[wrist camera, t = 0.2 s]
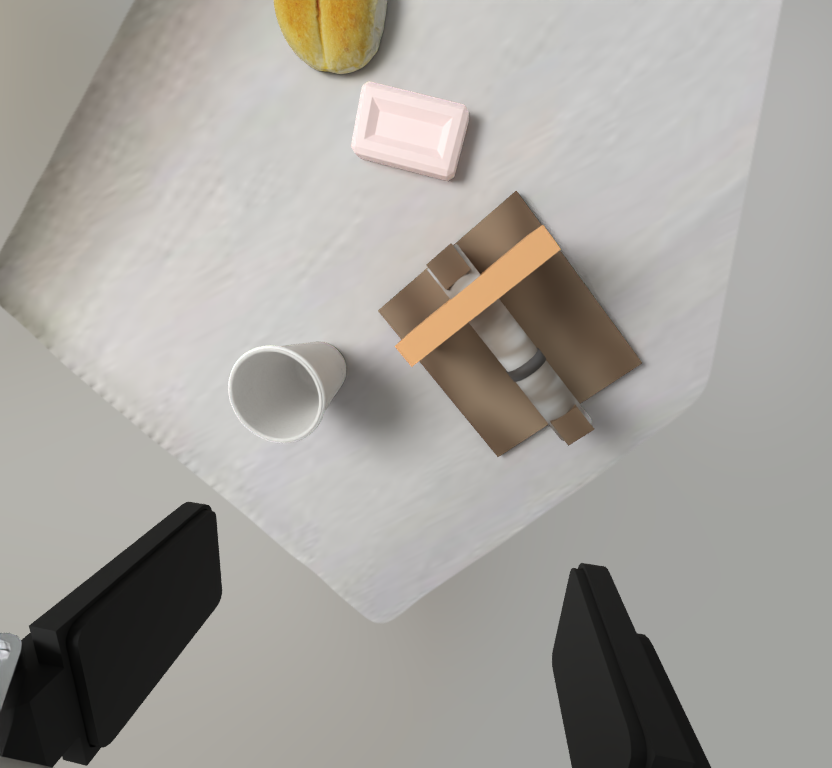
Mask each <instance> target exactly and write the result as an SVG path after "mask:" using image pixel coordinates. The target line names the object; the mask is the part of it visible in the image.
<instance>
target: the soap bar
mask: <svg viewBox="0 0 832 768" xmlns="http://www.w3.org/2000/svg"><path fill="white" fill-rule="evenodd" d="M468 123H469V112H468V110H467V108H466V106H465V105H464V104H460V103H456V102H452V101H448V100H444V99H440V98H435V97H431V96H427V95H423V94H419V93H415V92H411V91H407V90H403V89H399V88H395V87H391V86H387V85H383V84H379V83H375V82H370V81H368V82H367V83H365V84H364V85H363V86H362V89H361V95H360V100H359V106H358V111H357V116H356V122H355V127H354V133H353V138H352V143H351V147H352V149H353V150H354V152H355V154H356V155H357V156H358V157H359V158H361V159H365V160H368V161H372V162H376V163H380V164H384V165H388V166H391V167H395V168H399V169H403V170H407V171H411V172H415V173H418V174H422V175H426V176H430V177H434V178H438V179H441V180H445V181H449V180H451V179H452V178H454V176H455V173H456V169H457V165H458V161H459V157H460V153H461V150H462V146H463V142H464V138H465V134H466V130H467V127H468Z"/></svg>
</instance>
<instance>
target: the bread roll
mask: <svg viewBox="0 0 832 768" xmlns="http://www.w3.org/2000/svg"><path fill="white" fill-rule="evenodd" d="M274 7H275V12H276V16H277V20H278V23H279V26H280V28H281V31H282V33H283V35H284V37H285V39H286V41H287V42H288V44H289V46H290V47H291V48H292V50H293V51H294V52H295V54H296V55H297V56H298V57H299V58H300V59H302V60H303V61H304V62H305V63H306V64H308V65H309V66H310V67H312V68H314V69H316V70H318V71H329V72H332V73H337V74H345V73H350V72H354V71H356V70H358V69H361V68H363V67H364V66H365V65H366V64H367V63H368V62H369V61H370V60H371V59H372V57H373V56H374V55H375V54H376V52H377V50H378V47H379V44H380V40H381V36H382V33H383V29H384V22H385V16H386V9H387V0H274Z"/></svg>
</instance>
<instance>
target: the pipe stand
mask: <svg viewBox="0 0 832 768" xmlns="http://www.w3.org/2000/svg"><path fill="white" fill-rule="evenodd" d="M540 226H542V225H541V224H540V222H539V221H538V220H537V218H536V217H535V216H534V214H533V213H532V211H531V210H530V209H529V207H528V206H527V205H526V203H525V202H524V200H523V199H522V198H521V196H520V195H519V194H518V192H517V191H515V192H514V193H513V194H512V195H511V196H509V197H508V198H507V199H506V200H505V201H504V202H503V203H501V204H500V205H499V206H498V207H497V208H496V209H495V210H493V211H492V212H491V213H490V214H489V215H488V216H486V217H485V218H484V219H483V220H482V221H481V222H480V223H478V224H477V225H476V226H475V227H474V228H473V229H472V230H470V231H469V232H468V233H467V234H466V235H465V236H463V237H462V238H461V239H460V240H459V241H458V242H457V243H455V244H454V245H452V244H450V245H448V246H447V247H446V248H445V249H444V250H443V251H442V252H440V253H439V254H438V255H437V256H436V257H435V258H434V259H432V260H431V261H430V262H429V263H428V264H427V267H428V268H427V269H425V270H424V271H423V272H422V273H421V274H420V275H419V276H417V277H416V278H415V279H414V280H413V281H412V282H411V283H409V284H408V285H407V286H406V287H405V288H404V289H402V290H401V291H400V292H399V293H398V294H397V295H396V296H394V297H393V298H392V299H391V300H390V301H389V302H388V303H386V304H385V305H384V306H383V307H382V308H381V309H379V310H378V311H379V313H380V314H381V315H382V316H383V318H384V319H385V320H386V321H387V322H388V324H389V325H390V326H391V327H392V329H393V330H394V331H395V332H396V333H397V335H398V336H399V337H400V338H401V339H403V338H404V337H405V336H406V335H407V334H409V333H410V332H411V331H412V330H413V329H414V328H415V327H417V326H418V325H419V324H420V323H422V322H423V321H424V320H425V319H426V318H428V317H429V316H430V315H431V314H432V313H434V312H435V311H436V310H437V309H439V308H440V307H441V306H442V305H443V304H445V303H446V302H447V301H448V300H449V299H452V298H454V297H455V296H456V295H457V294H458V293H460V292H461V291H462V290H463V289H464V288H466V287H467V286H468V285H469V284H471V283H472V282H473V281H474V280H475V279H477V278H478V277H479V276H480V274H481V273H482V272H484V271H485V270H486V269H487V268H488V267H490V266H491V265H492V264H493V263H494V262H496V261H497V260H498V259H499V258H501V257H502V256H503V255H504V254H505V253H507V252H508V251H509V250H510V249H511V248H513V247H514V246H515V245H516V244H518V243H519V242H520V241H521V240H522V239H524V238H525V237H526V236H527V235H529V234H530V233H532V232H533V231H534V230H536V229H537V228H539V227H540ZM420 363H421V364H422V365H423V366H424V368H425V369H426V370H427V371H428V372H429V374H430V375H431V376H432V377H433V379H434V380H435V381H436V382H437V383H438V385H439V386H440V387H441V388H442V389H443V391H444V392H445V393H446V394H447V396H448V397H449V398H450V399H451V400H452V402H453V403H454V404H455V405H456V407H457V408H458V409H459V410H460V411H461V413H462V414H463V415H464V416H465V418H466V419H467V420H468V421H469V422H470V424H471V425H472V426H473V427H474V428H475V430H476V431H477V432H478V433H479V435H480V436H481V437H482V438H483V439H484V441H485V442H486V443H487V444H488V446H489V447H490V448H491V449H492V450H493V452H494V453H495V454H496V455H497V457H499V456H501V455H502V454H504V453H505V452H507V451H508V450H510V449H511V448H513V447H514V446H516V445H518V444H519V443H521V442H522V441H524V440H525V439H527V438H528V437H530V436H531V435H533V434H534V433H536V432H537V431H539V430H541V429H542V428H544V427H545V426H547V425H548V424H549V425H550V426H551V428H552V429H553V430H554V431H555V433H556V434H557V435H558V437H559V438H560V439H561V440H563V441H565V442H566V443H567V444H568V446H569V445H570V444H572V443H573V442H575V441H577V440H578V439H580V438H581V437H583V436H585V435H586V434H588V433H589V432H591V431H593V430H594V428H593V427H592V425H591V423H592V419H591V418H590V416H589V415H588V414H587V413H586V411H585V410H584V409H583V407H582V406H581V405H580V403H582V402H583V401H585V400H587V399H588V398H590V397H591V396H593V395H594V394H596V393H597V392H599V391H600V390H602V389H603V388H605V387H607V386H608V385H610V384H611V383H613V382H614V381H616V380H617V379H619V378H620V377H622V376H623V375H625V374H626V373H628V372H630V371H631V370H633V369H634V368H636V367H637V366H639V365H640V364H642V362H641V361H640V359H639V358H638V356H637V355H636V354H635V352H634V351H633V350H632V348H631V347H630V345H629V344H628V343H627V341H626V340H625V339H624V337H623V336H622V335H621V333H620V332H619V330H618V329H617V328H616V326H615V325H614V324H613V322H612V321H611V319H610V318H609V317H608V315H607V314H606V313H605V311H604V310H603V309H602V307H601V306H600V304H599V303H598V302H597V300H596V299H595V298H594V296H593V295H592V293H591V292H590V291H589V289H588V288H587V287H586V285H585V284H584V283H583V281H582V280H581V278H580V277H579V276H578V274H577V273H576V272H575V270H574V269H573V268H572V266H571V265H570V263H569V262H568V261H567V259H566V258H565V257H564V255H563V254H562V252H561V251H560V250H559V251H558V252H557V253H556V254H554V255H553V256H552V257H551V258H549V259H548V260H547V261H545V262H544V263H543V264H542V265H540V266H539V267H538V268H537V269H535V270H534V271H533V272H532V273H530V274H529V275H528V276H526V277H525V278H524V279H523V280H521V281H520V282H519V283H518V284H516V285H515V286H514V287H513V288H511V289H510V290H509V291H507V292H506V293H505V294H504V295H502V296H501V297H500V298H499V299H497V300H496V301H495V302H493V303H492V304H491V305H490V306H488V307H487V308H486V309H485V310H483V311H482V312H481V313H480V314H478V315H477V316H476V317H474V318H473V319H472V320H471V321H469V322H468V323H467V324H466V325H464V326H463V327H462V328H461V329H459V330H458V331H457V332H455V333H454V334H453V335H452V336H450V337H449V338H448V339H447V340H445V341H444V342H443V343H442V344H440V345H439V346H438V347H436V348H435V349H434V350H433V351H431V352H430V353H429V354H428V355H426V356H425V357H424V358H423V359H421V360H420Z"/></svg>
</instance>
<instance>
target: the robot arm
mask: <svg viewBox="0 0 832 768" xmlns="http://www.w3.org/2000/svg"><path fill="white" fill-rule="evenodd" d="M221 595H222V584H221V571H220V559H219V546H218V534H217V522H216V514H215V512H213V511H212V510H211V507H210V506H209V505H206V504H199V503H193V502H186V503H184V504H182V505H181V506H180V507H179V508H177V509H176V510H175V511H173V512H172V513H171V514H170V515H168V516H167V517H166V518H165V519H164V520H162V521H161V522H160V523H158V524H157V525H156V526H154V527H153V528H152V529H151V530H149V531H148V532H147V533H146V534H144V535H143V536H142V537H141V538H139V539H138V540H137V541H136V542H135V543H133V544H132V545H131V546H129V547H128V548H127V549H125V550H124V551H123V552H122V553H120V554H119V555H118V556H117V557H115V558H114V559H113V560H112V561H110V562H109V563H108V564H106V565H105V566H104V567H103V568H101V569H100V570H99V571H98V572H96V573H95V574H94V575H93V576H92V577H90V578H89V579H88V580H86V581H85V582H84V583H83V584H81V585H80V586H79V587H77V588H76V589H75V590H74V591H73V592H71V593H70V594H69V595H68V596H66V597H65V598H64V599H62V600H61V601H60V602H59V603H57V604H56V605H55V606H53V607H52V608H51V609H50V610H48V611H47V612H46V613H45V614H43V615H42V616H41V617H40V618H38V619H37V620H36V621H34V622H33V623H32V624H31V625H29V628H30V632H31V633H29V634H28V635H27V636H26V637H25V638H23V639H22V640H20V639H19V637H18V636H17V635H14V634H11V633H0V768H52V767H53V766H54V765H55V764H56V763H57V761H58V760H59V759H60V758H61V757H63V760H66V761H70V762H74V763H78V764H82V765H88V764H89V762H90V761H91V760H92V759H93V757H94V756H95V755H96V753H97V752H98V751H99V750H100V748H101V747H106V746H107V745H109V744H110V743H111V742H112V741H113V740H114V739H115V738H116V736H117V735H118V734H119V732H120V731H121V730H122V728H123V727H124V726H125V725H126V723H127V722H128V721H129V719H130V718H131V717H132V716H133V714H134V713H135V712H136V710H137V709H138V708H139V706H140V705H141V704H142V703H143V701H144V700H145V699H146V697H147V696H148V695H149V694H150V692H151V691H152V690H153V688H154V687H155V686H156V685H157V683H158V682H159V681H160V679H161V678H162V677H163V675H164V674H165V673H166V672H167V670H168V669H169V668H170V666H171V665H172V664H173V663H174V661H175V660H176V659H177V657H178V656H179V655H180V653H181V652H182V651H183V650H184V648H185V647H186V645H187V644H188V643H189V642H190V641H191V639H192V638H193V636H194V635H195V634H196V633H197V631H198V630H199V629H200V628H201V626H202V625H203V624H204V622H205V621H206V620H207V619H208V617H209V616H210V614H211V613H212V612H213V611H214V610H215V608H216V607H217V605H218V604H219V602H220V599H221ZM552 667H553V672H554V678H555V683H556V688H557V693H558V698H559V703H560V708H561V714H562V719H563V724H564V729H565V734H566V739H567V744H568V749H569V754H570V759H571V765H572V768H711V766H710V764H709V762H708V760H707V758H706V756H705V754H704V752H703V749H702V747H701V746H700V743H699V741H698V739H697V737H696V735H695V733H694V731H693V729H692V726H691V725H690V722H689V720H688V718H687V716H686V714H685V712H684V710H683V708H682V705H681V704H680V701H679V699H678V697H677V695H676V693H675V691H674V689H673V687H672V685H671V683H670V680H669V678H668V676H667V674H666V672H665V670H664V668H663V666H662V664H661V661H660V659H659V657H658V655H657V653H656V651H655V649H654V647H653V645H652V643H651V642H650V640H649V638H647V637H646V636H645V635H643V634H637V633H636V631H635V629H634V626H633V624H632V622H631V620H630V617H629V615H628V613H627V611H626V608H625V606H624V604H623V602H622V600H621V597H620V595H619V593H618V591H617V588H616V586H615V584H614V582H613V579H612V577H611V575H610V573H609V571H608V569H607V568H606V567H604V566H597V565H591V564H584V563H581V564H580V565H579V567H578V569H576V568H572V569H571V571H570V575H569V579H568V584H567V588H566V593H565V598H564V602H563V607H562V612H561V616H560V621H559V625H558V630H557V634H556V639H555V644H554V648H553V653H552Z"/></svg>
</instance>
